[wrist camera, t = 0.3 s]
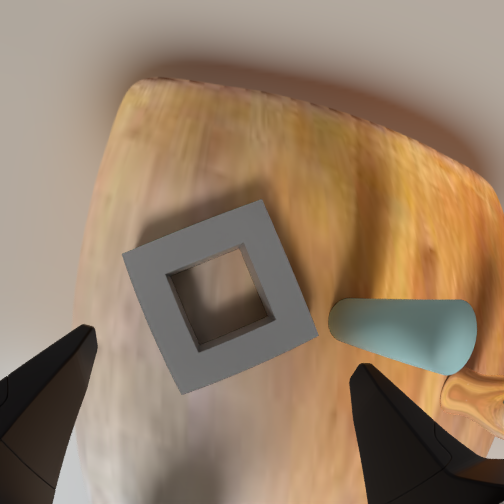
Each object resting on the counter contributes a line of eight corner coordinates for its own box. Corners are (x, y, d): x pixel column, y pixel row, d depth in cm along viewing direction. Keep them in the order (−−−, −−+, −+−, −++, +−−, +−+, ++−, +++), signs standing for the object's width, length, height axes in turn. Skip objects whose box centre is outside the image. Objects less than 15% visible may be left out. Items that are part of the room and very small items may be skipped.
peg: (372, 329, 25) (480, 348, 12) (337, 350, 24) (438, 390, 11) (358, 290, 25) (468, 286, 12) (321, 309, 24) (423, 323, 11)
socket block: (305, 330, 24) (318, 335, 21) (184, 382, 22) (181, 394, 19) (255, 209, 24) (262, 199, 21) (132, 258, 22) (121, 254, 19)
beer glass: (475, 358, 26) (568, 372, 12) (466, 407, 26) (550, 434, 11) (442, 368, 25) (547, 392, 11) (432, 422, 25) (524, 462, 10)
